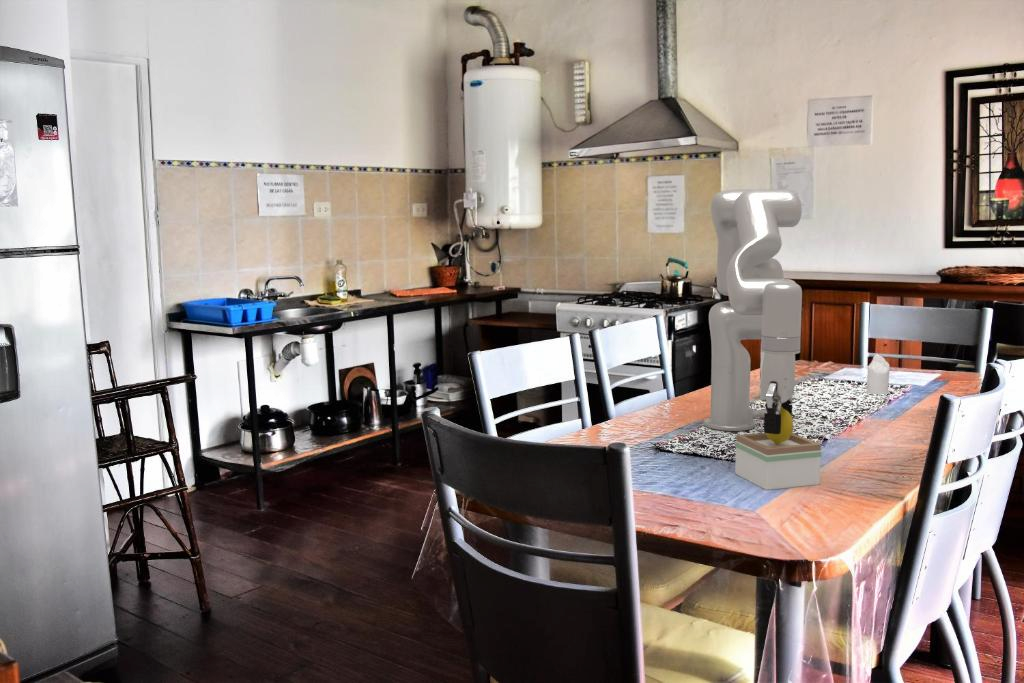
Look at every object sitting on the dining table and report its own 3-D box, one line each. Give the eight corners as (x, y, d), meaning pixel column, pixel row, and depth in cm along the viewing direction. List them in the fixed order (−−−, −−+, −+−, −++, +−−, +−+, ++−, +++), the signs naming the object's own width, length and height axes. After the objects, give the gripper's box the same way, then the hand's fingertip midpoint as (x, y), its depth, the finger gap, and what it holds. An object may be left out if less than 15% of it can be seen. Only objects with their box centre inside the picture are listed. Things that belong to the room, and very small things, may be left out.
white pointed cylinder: (892, 353, 273) (887, 356, 268) (890, 394, 274) (885, 397, 270) (871, 351, 276) (866, 354, 271) (869, 391, 278) (864, 395, 273)
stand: (785, 468, 199) (787, 430, 198) (820, 484, 187) (821, 444, 186) (734, 473, 196) (735, 435, 194) (766, 490, 184) (767, 449, 183)
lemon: (759, 441, 193) (762, 403, 192) (785, 441, 194) (788, 403, 192) (768, 448, 188) (772, 409, 186) (795, 449, 188) (799, 410, 187)
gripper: (771, 337, 197) (769, 417, 199) (750, 349, 182) (748, 435, 184) (808, 340, 193) (805, 421, 196) (790, 352, 178) (787, 439, 181)
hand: (778, 428), depth 190 cm, fingers open, 9 cm apart
